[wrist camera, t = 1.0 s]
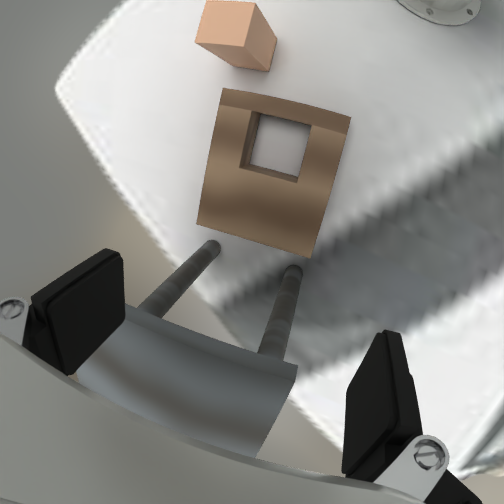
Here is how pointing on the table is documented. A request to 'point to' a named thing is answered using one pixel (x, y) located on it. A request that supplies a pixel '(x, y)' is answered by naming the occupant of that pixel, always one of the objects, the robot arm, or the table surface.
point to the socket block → (218, 218)
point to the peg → (237, 34)
